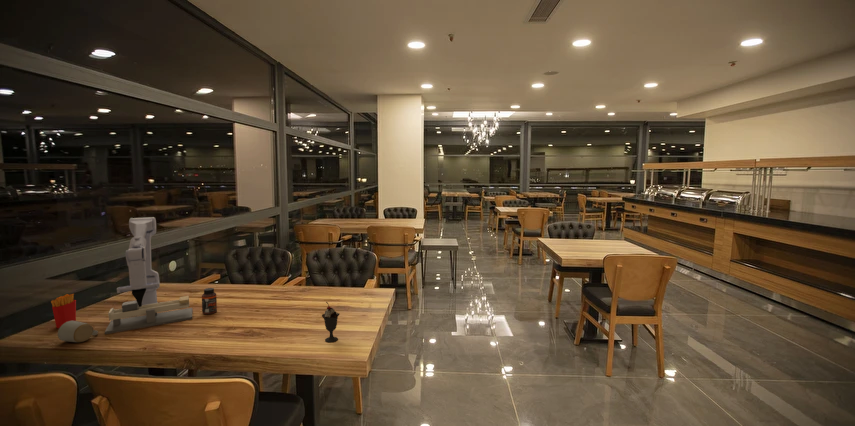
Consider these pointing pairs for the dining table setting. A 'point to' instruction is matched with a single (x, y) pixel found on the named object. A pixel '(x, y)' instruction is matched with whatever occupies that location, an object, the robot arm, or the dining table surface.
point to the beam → (158, 307)
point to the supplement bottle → (209, 301)
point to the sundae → (330, 322)
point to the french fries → (64, 309)
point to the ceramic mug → (75, 331)
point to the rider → (130, 306)
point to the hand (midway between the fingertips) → (140, 306)
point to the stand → (148, 320)
